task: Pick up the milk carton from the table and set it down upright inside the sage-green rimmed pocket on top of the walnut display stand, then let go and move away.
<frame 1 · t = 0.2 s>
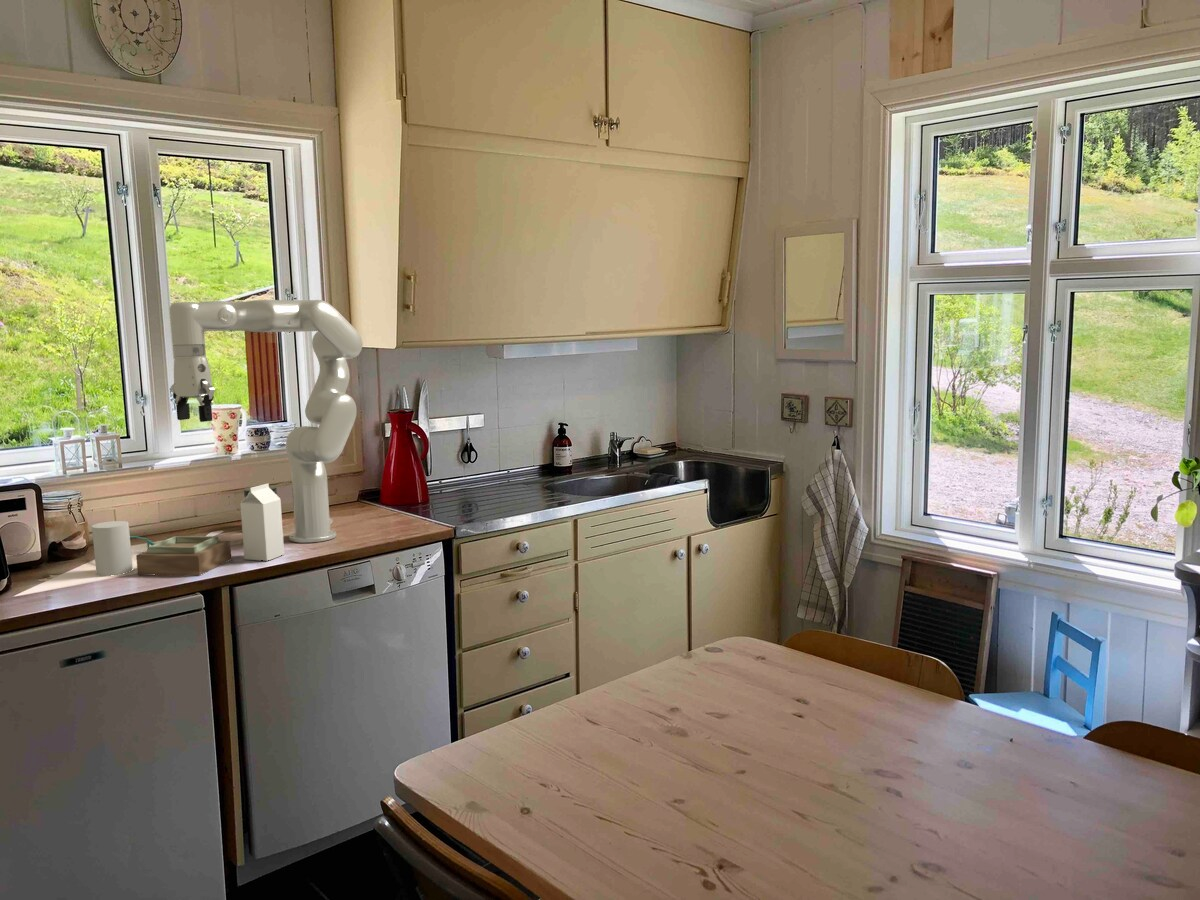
hand: (194, 420, 246), 37 cm above the table, tool pointing down, fingers open, 9 cm apart
sunglasses: (130, 560, 256), on the table
cup: (114, 572, 243), on the table
milk carton: (264, 558, 254), on the table
display stand: (186, 566, 246), on the table
supplement container: (262, 528, 290), on the table
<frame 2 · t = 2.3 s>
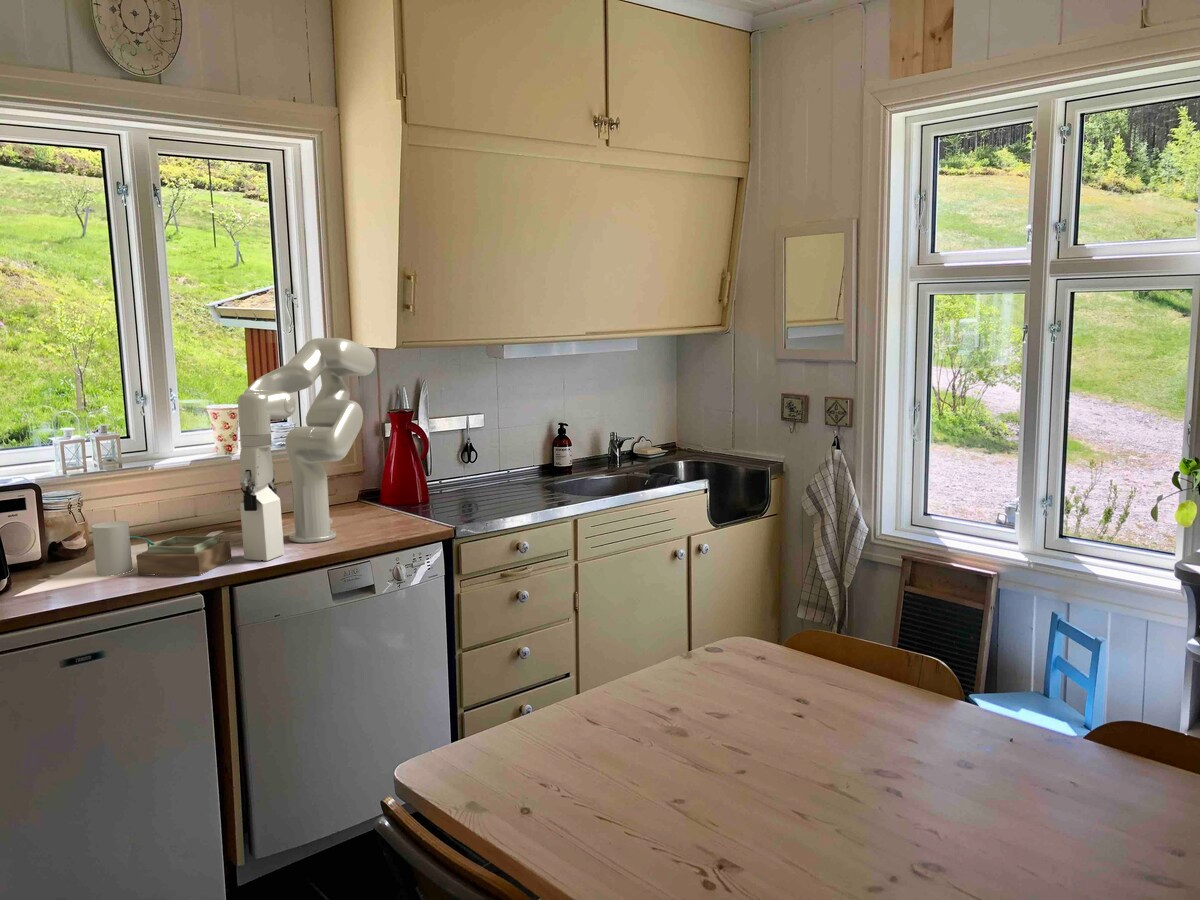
hand: (259, 507, 251), 13 cm above the table, tool pointing down, fingers open, 9 cm apart
nothing on the table moved.
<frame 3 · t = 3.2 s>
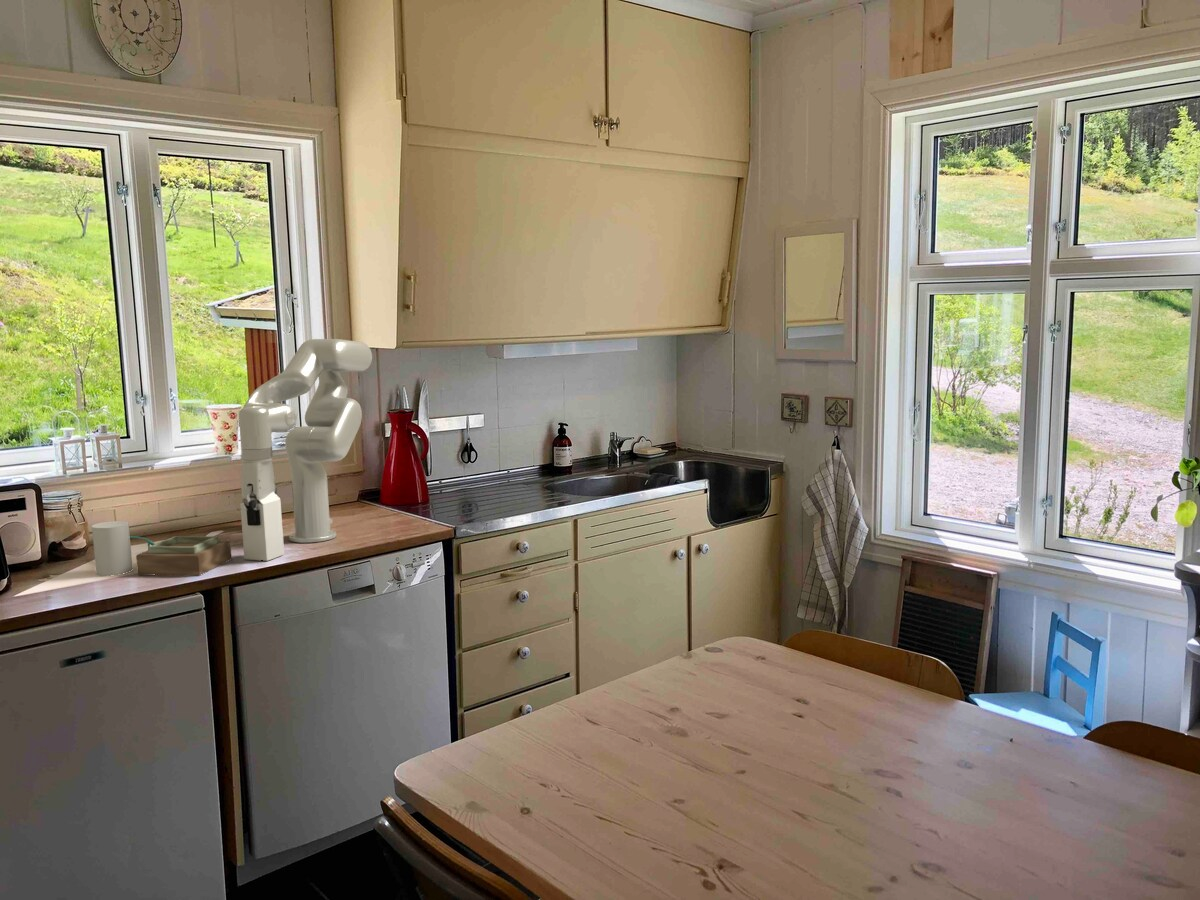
hand: (261, 521, 253), 10 cm above the table, tool pointing down, fingers closed on milk carton, 8 cm apart
milk carton: (264, 558, 254), on the table, touching gripper
everything else where it was.
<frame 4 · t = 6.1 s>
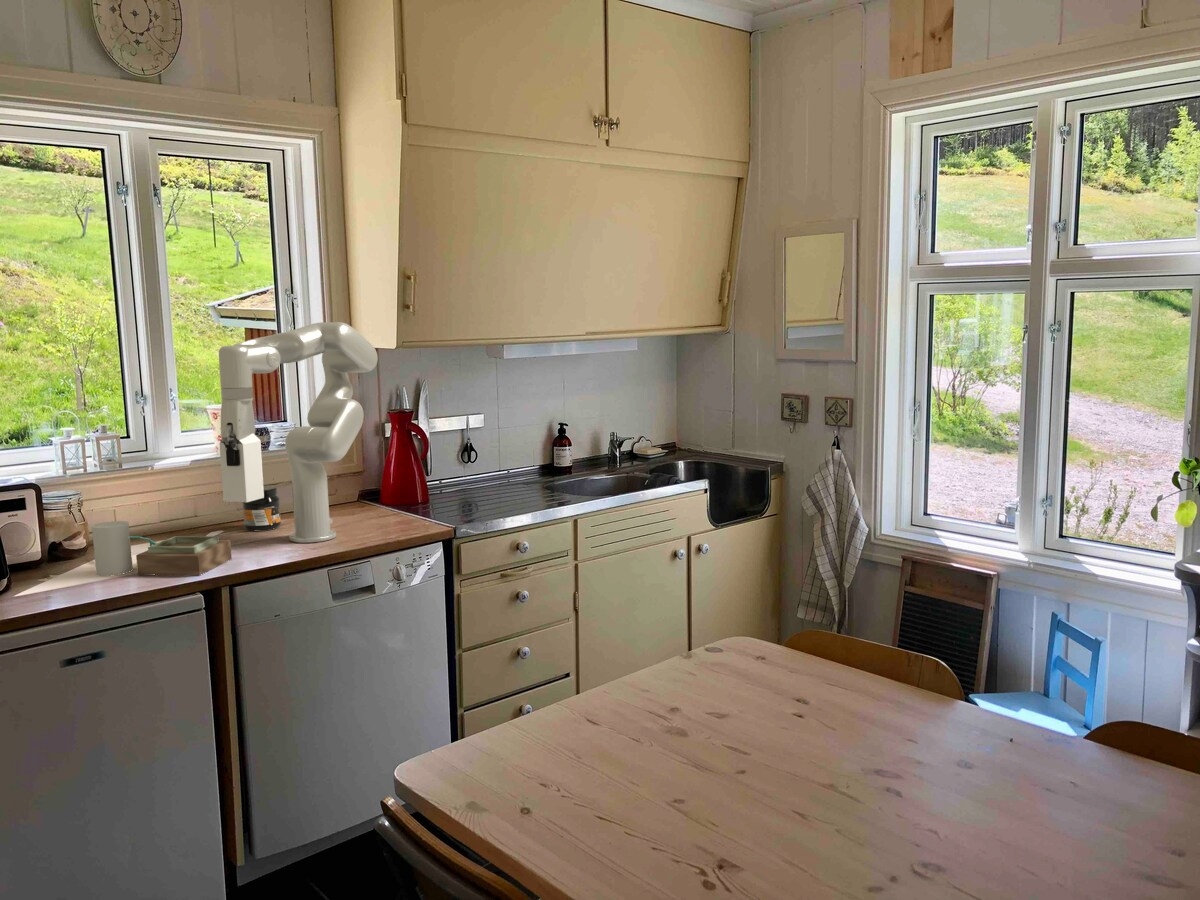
hand: (241, 463, 248), 25 cm above the table, tool pointing down, fingers closed on milk carton, 8 cm apart
milk carton: (243, 500, 250), point 15 cm above the table, touching gripper
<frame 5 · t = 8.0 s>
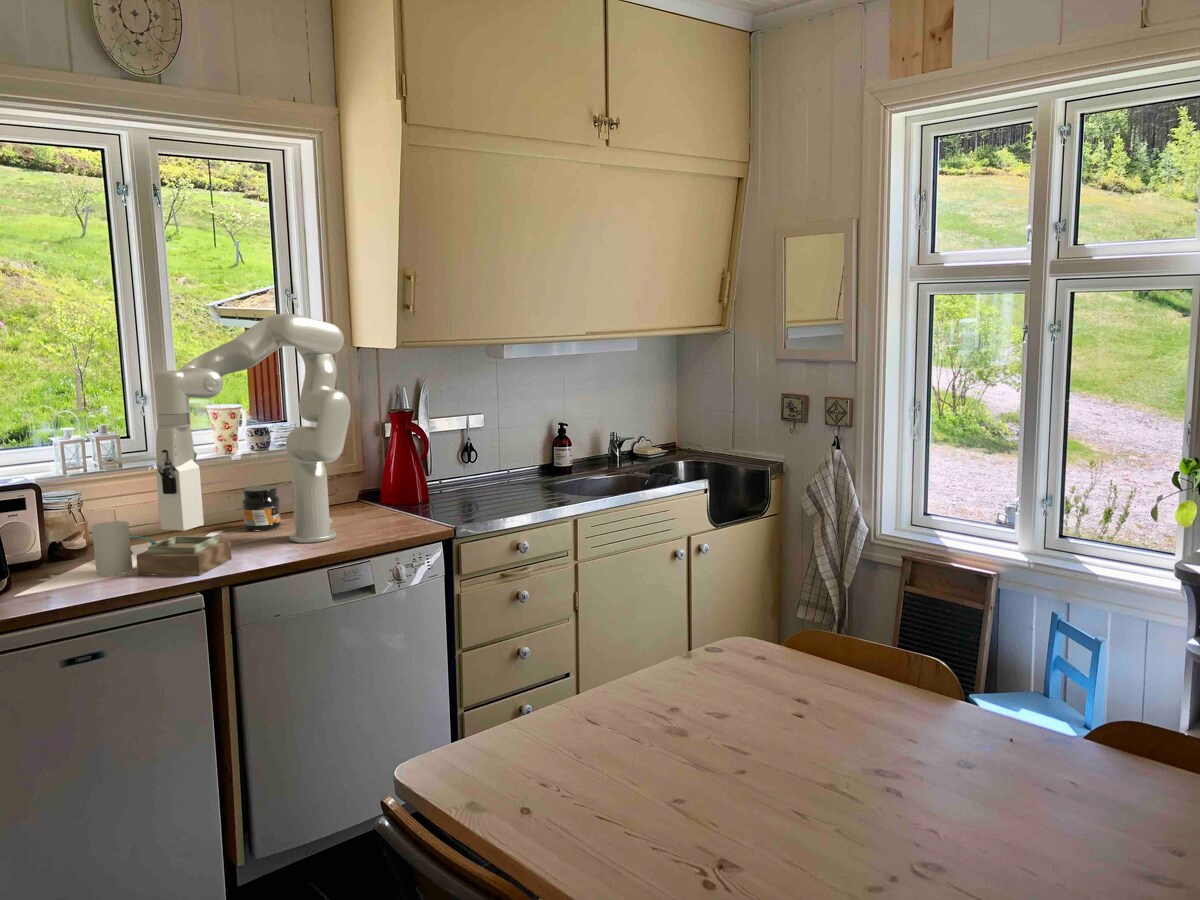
hand: (179, 490, 243), 20 cm above the table, tool pointing down, fingers closed on milk carton, 8 cm apart
milk carton: (182, 528, 244), point 10 cm above the table, touching gripper
when the fingers open (16 cm above the table, at t = 9.3 s): milk carton drops 1 cm, resting on display stand.
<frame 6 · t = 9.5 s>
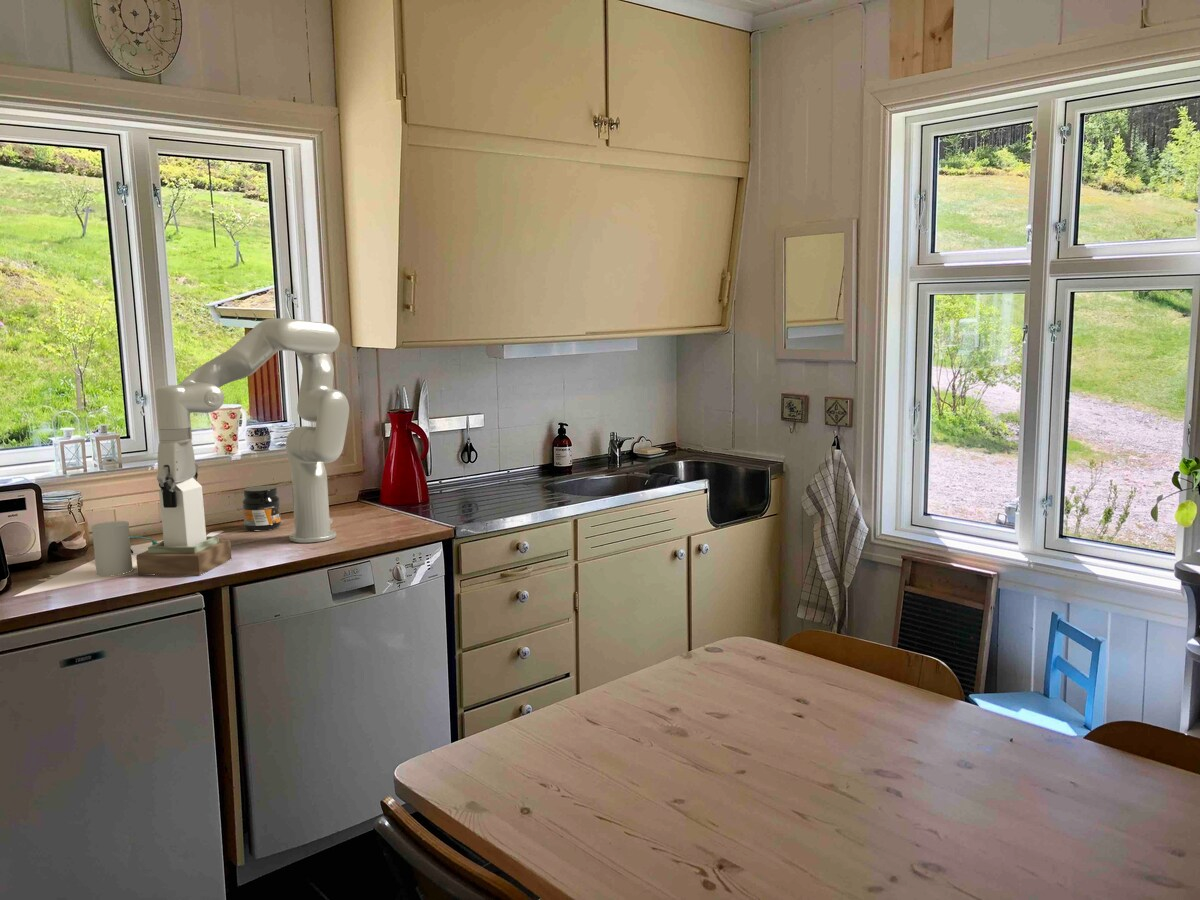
hand: (180, 503, 244), 16 cm above the table, tool pointing down, fingers open, 9 cm apart
milk carton: (185, 547, 245), point 5 cm above the table, touching display stand
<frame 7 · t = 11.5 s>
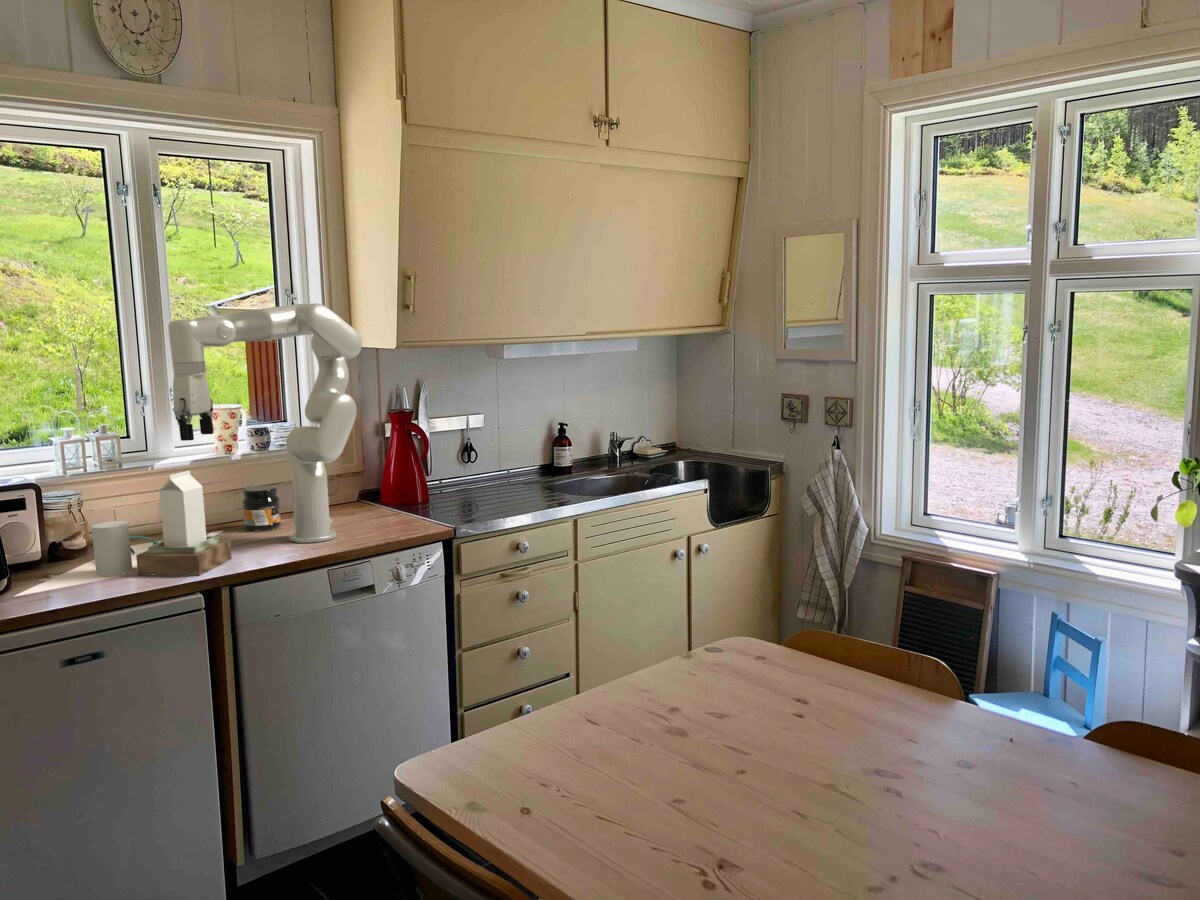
hand: (197, 437, 246), 32 cm above the table, tool pointing down, fingers open, 9 cm apart
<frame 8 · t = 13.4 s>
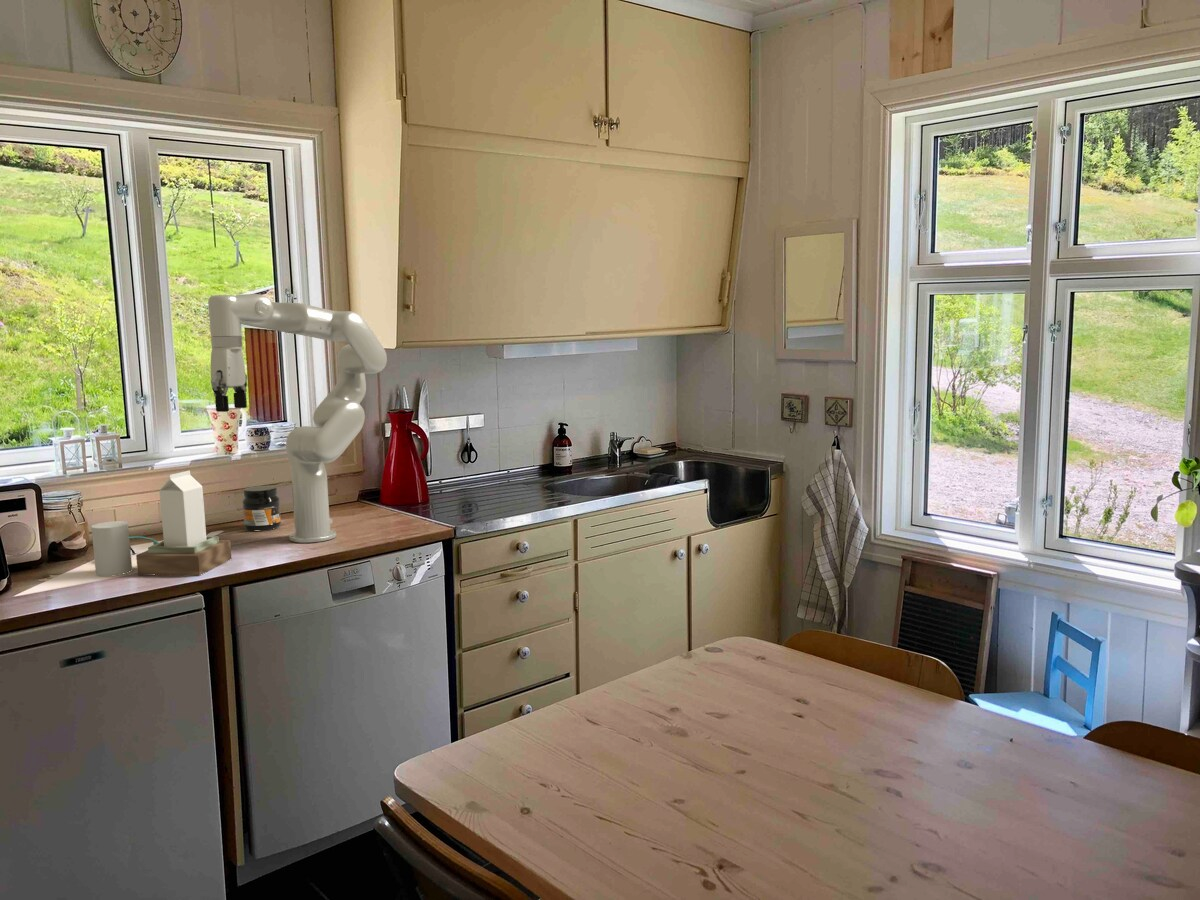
hand: (231, 409, 253), 38 cm above the table, tool pointing down, fingers open, 9 cm apart
at the end: milk carton 0.4 cm off-centre on the display stand, point 4.8 cm above the display stand's base; milk carton tilted 0°; the gripper is holding nothing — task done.
